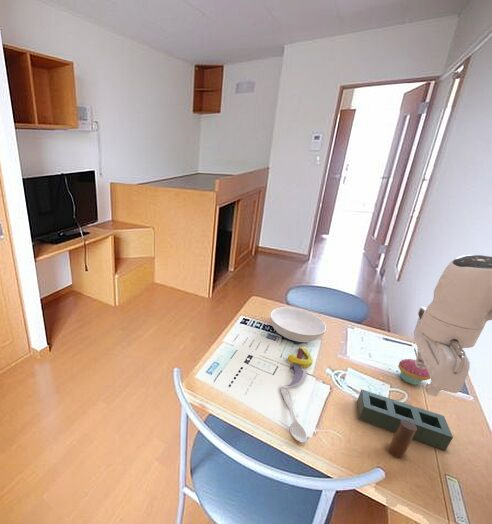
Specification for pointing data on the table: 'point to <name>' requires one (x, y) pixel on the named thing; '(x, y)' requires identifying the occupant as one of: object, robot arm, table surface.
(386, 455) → the table surface
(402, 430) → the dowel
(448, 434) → the peg block
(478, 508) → the table surface
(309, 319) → the serving bowl
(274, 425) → the table surface
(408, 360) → the cupcake
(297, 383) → the knife
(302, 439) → the spoon
